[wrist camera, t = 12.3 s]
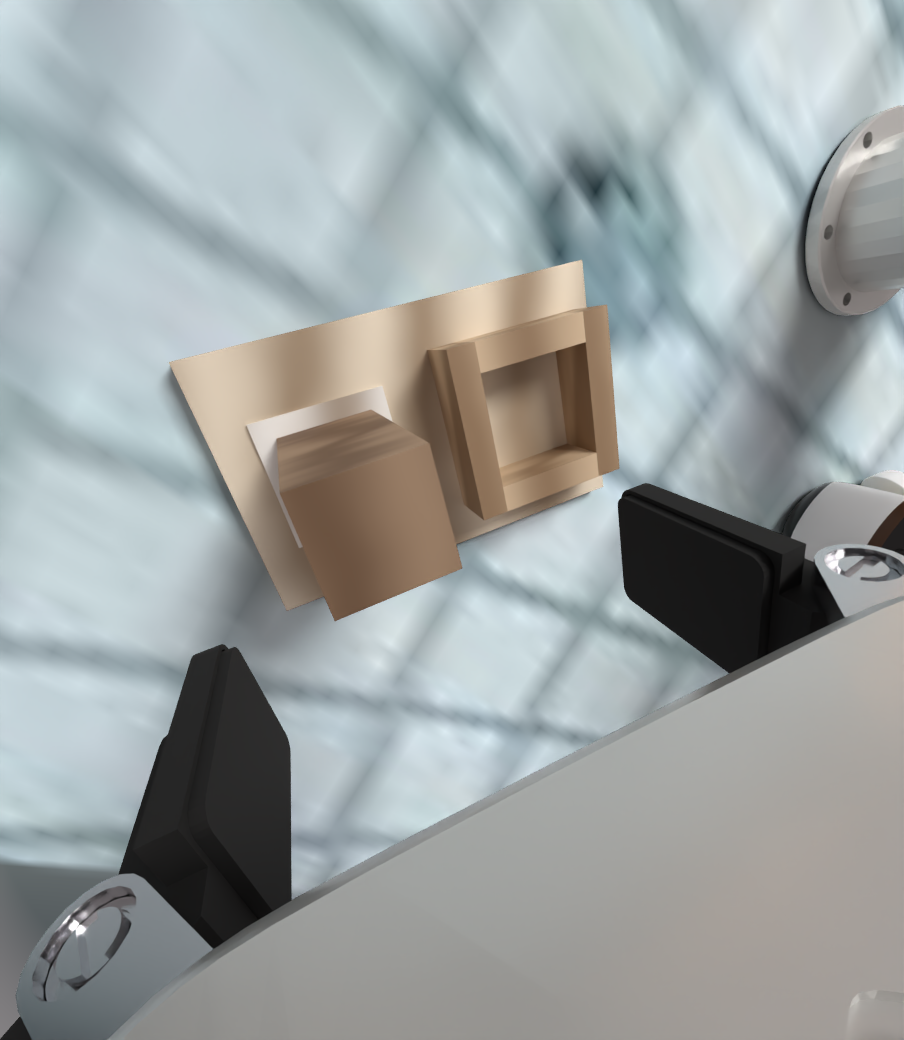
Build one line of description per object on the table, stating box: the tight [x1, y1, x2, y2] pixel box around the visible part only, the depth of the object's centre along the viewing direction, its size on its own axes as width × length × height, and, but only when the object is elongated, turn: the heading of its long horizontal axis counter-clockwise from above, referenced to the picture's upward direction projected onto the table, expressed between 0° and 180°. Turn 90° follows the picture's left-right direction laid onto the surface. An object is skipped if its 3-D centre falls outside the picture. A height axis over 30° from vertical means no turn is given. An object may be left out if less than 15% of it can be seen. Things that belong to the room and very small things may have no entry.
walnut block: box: [277, 410, 462, 621], centre depth 20 cm, size 5×5×10 cm
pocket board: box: [169, 260, 619, 611], centre depth 25 cm, size 22×14×4 cm, turn 104°
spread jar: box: [782, 470, 904, 562], centre depth 38 cm, size 12×11×12 cm
